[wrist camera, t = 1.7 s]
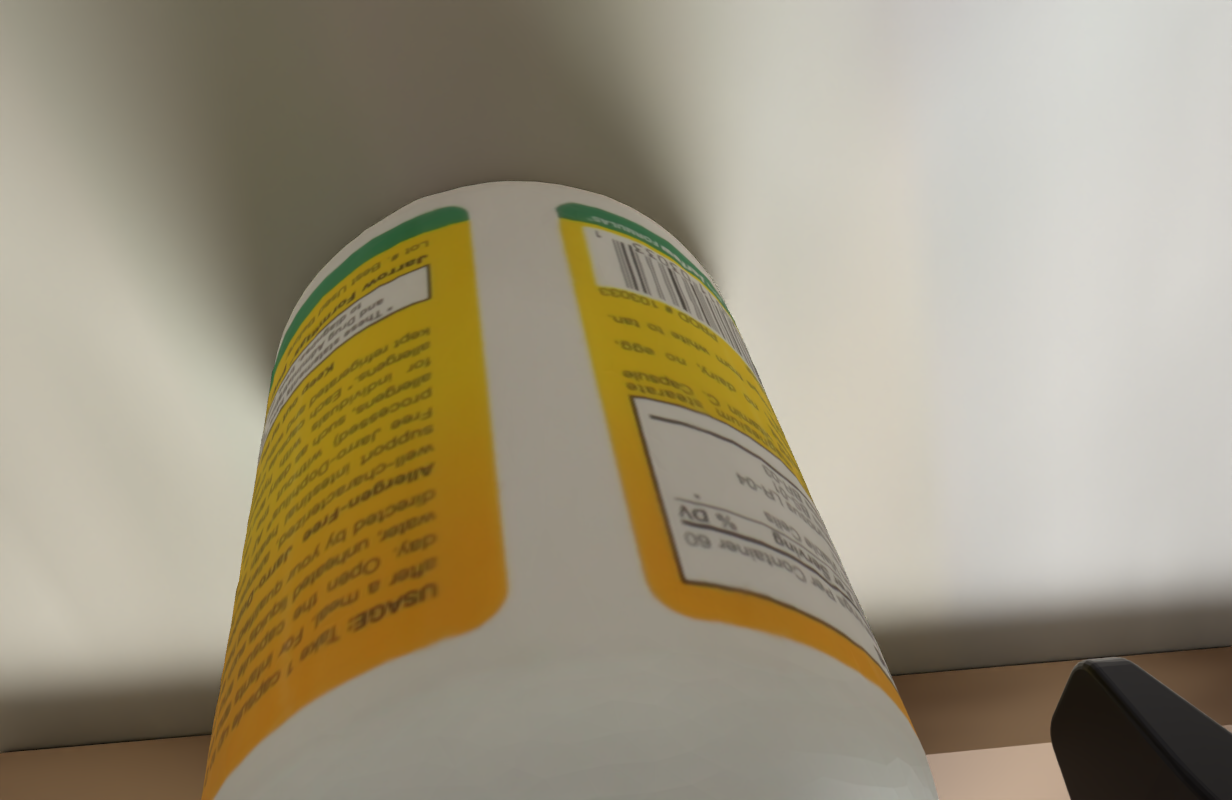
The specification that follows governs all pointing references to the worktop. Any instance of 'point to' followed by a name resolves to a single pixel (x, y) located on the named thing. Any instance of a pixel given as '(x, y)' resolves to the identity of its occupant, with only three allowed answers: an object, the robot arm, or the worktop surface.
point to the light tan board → (935, 702)
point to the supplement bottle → (539, 536)
